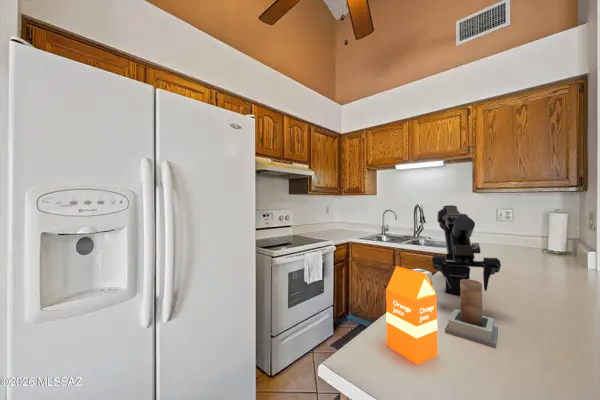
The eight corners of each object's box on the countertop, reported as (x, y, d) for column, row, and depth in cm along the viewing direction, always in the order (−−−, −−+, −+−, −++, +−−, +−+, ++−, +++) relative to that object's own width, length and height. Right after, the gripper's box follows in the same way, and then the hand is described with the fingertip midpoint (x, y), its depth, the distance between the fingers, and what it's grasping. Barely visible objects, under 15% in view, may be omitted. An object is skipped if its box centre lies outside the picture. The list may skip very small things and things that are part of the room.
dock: (445, 332, 67) (444, 320, 67) (452, 318, 75) (452, 307, 75) (495, 348, 59) (495, 334, 59) (497, 330, 68) (497, 318, 68)
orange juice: (417, 365, 53) (415, 276, 54) (386, 344, 61) (385, 267, 62) (438, 354, 57) (436, 271, 57) (406, 336, 65) (405, 263, 65)
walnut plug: (456, 325, 69) (456, 280, 69) (468, 322, 70) (467, 278, 71) (474, 334, 64) (474, 286, 64) (486, 330, 66) (486, 283, 66)
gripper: (430, 234, 84) (433, 277, 75) (497, 233, 74) (509, 282, 66) (431, 248, 91) (435, 289, 82) (493, 249, 82) (504, 295, 73)
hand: (467, 289), depth 76 cm, fingers open, 9 cm apart
